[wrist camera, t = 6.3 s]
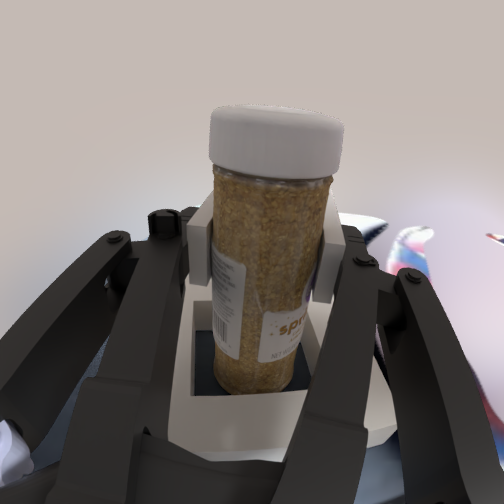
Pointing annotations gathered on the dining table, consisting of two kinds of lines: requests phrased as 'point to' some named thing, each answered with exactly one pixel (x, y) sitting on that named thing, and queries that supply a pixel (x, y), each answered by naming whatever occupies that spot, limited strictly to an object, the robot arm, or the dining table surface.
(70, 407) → the dining table surface
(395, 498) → the dining table surface
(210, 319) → the socket block
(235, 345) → the sprinkles bottle
